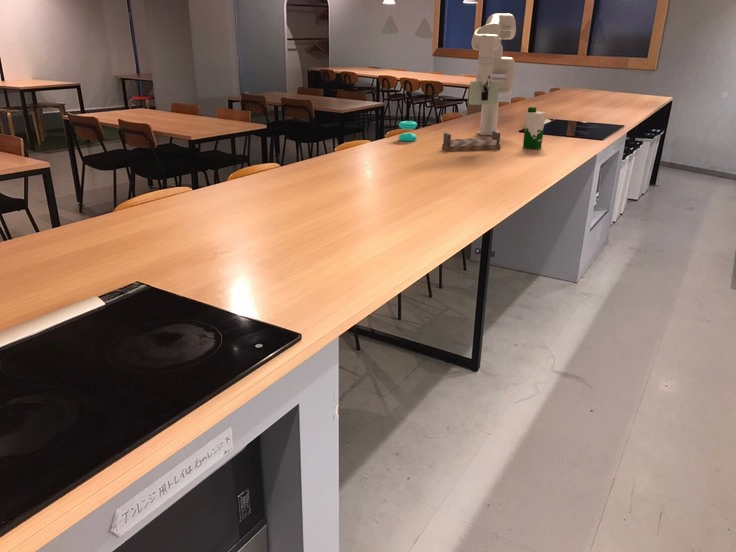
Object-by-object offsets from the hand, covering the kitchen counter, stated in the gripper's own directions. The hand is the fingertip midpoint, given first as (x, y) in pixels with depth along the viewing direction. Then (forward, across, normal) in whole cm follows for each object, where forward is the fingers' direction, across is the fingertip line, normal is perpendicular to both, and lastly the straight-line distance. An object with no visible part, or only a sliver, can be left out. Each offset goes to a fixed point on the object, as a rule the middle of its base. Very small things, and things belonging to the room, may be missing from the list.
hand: (483, 99), depth 295 cm
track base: (+24, +3, -6) cm, 25 cm away
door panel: (+2, 0, 0) cm, 2 cm away
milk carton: (+24, +8, +26) cm, 36 cm away
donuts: (+24, -27, -32) cm, 48 cm away
